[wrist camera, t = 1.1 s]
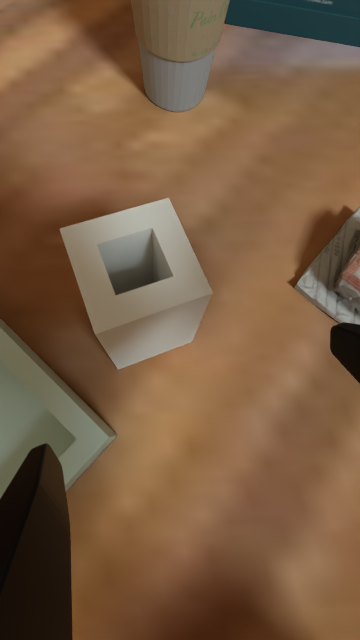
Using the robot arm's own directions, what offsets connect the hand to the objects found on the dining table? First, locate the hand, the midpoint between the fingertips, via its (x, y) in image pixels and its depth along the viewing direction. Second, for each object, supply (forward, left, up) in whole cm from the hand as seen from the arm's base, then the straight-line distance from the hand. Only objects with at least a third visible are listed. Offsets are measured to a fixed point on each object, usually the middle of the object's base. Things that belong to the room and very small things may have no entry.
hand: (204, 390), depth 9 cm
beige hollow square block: (+7, -1, -13) cm, 15 cm away
